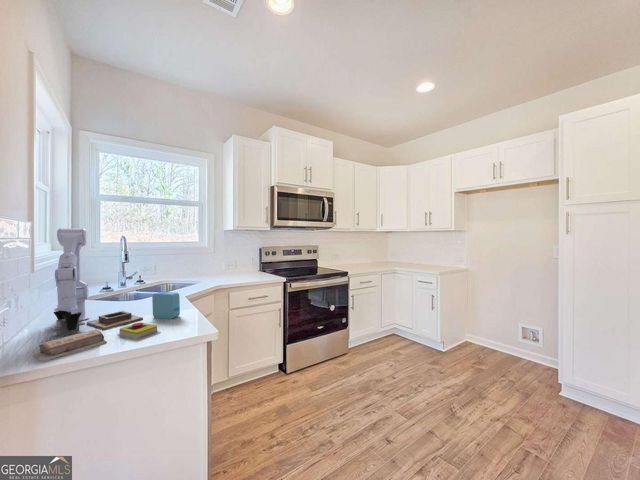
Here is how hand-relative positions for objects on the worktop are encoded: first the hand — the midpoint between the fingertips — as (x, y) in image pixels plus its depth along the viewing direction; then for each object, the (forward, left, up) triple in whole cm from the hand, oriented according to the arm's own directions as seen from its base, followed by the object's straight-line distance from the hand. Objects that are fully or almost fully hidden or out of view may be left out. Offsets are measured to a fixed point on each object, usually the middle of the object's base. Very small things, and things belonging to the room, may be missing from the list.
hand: (68, 328), depth 116 cm
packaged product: (+21, -6, -3) cm, 22 cm away
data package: (+15, +33, -2) cm, 36 cm away
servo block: (0, 0, -2) cm, 2 cm away
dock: (+1, +17, -2) cm, 17 cm away
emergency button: (+27, +14, -3) cm, 31 cm away
